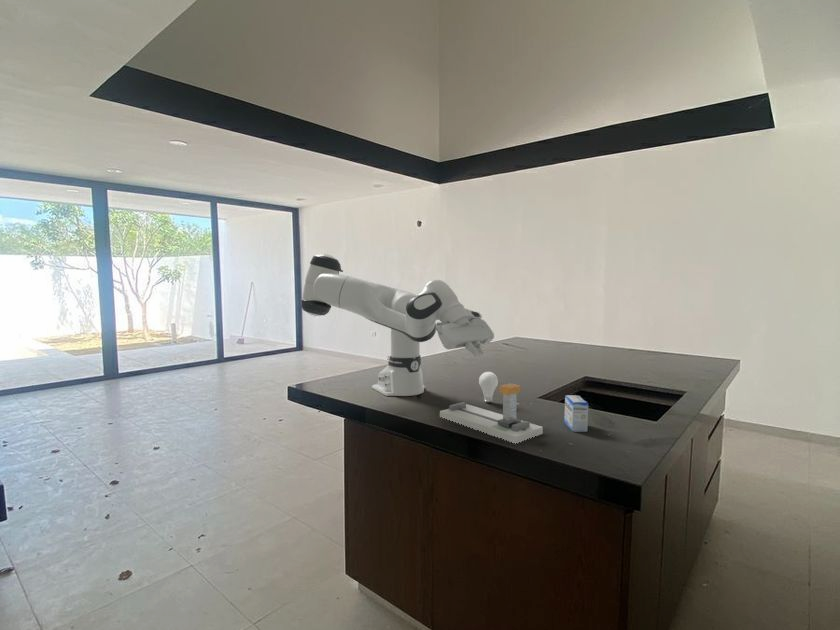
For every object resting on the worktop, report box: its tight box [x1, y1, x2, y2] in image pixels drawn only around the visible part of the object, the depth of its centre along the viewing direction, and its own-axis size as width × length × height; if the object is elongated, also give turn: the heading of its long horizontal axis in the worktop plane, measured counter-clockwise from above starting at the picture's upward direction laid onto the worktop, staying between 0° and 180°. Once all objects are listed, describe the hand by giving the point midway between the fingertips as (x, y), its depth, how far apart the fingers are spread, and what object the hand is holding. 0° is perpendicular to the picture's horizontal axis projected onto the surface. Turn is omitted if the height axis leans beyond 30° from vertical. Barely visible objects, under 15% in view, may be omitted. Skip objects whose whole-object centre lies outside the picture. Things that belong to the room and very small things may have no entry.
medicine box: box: [563, 394, 589, 433], centre depth 129 cm, size 8×4×9 cm, turn 178°
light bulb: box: [478, 371, 499, 404], centre depth 155 cm, size 7×7×11 cm
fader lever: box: [498, 382, 522, 428], centre depth 125 cm, size 4×6×11 cm
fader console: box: [439, 401, 544, 445], centre depth 132 cm, size 30×12×4 cm, turn 40°
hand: (479, 355), depth 134 cm, fingers closed
